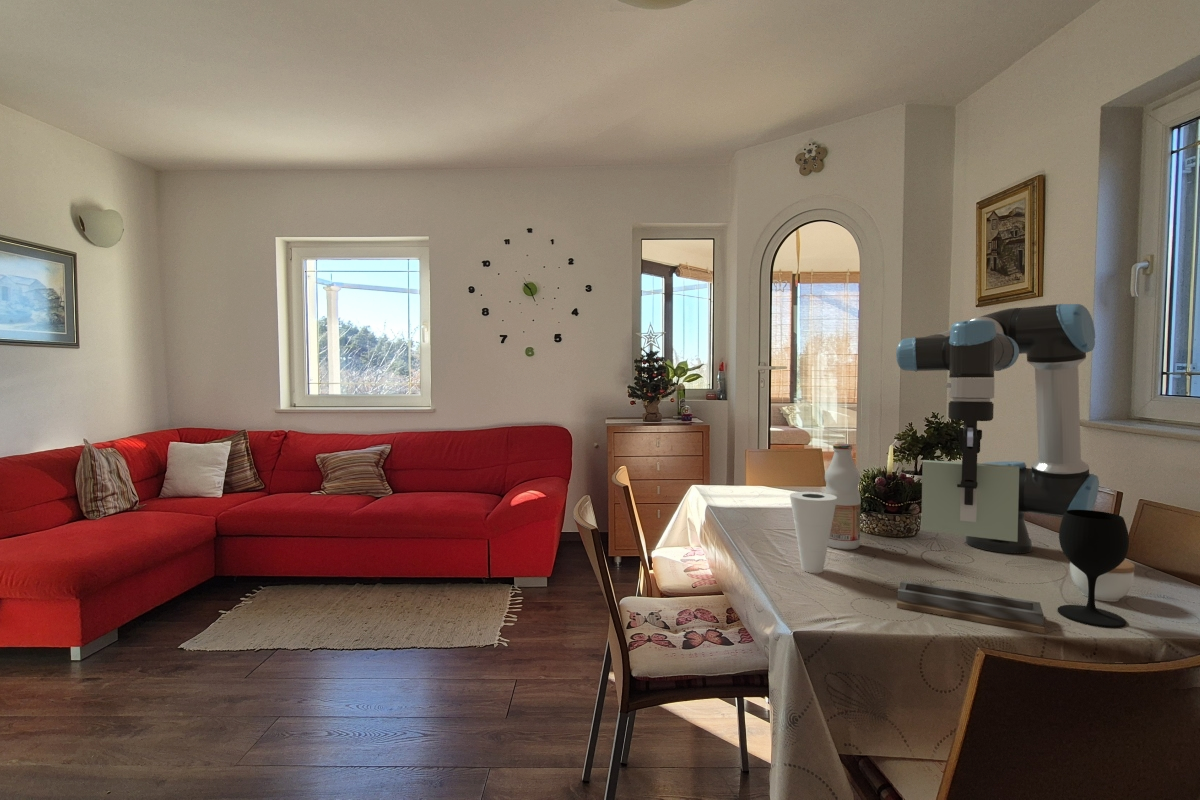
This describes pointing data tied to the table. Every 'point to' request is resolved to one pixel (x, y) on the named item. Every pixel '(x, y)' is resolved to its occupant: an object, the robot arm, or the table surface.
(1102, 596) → the lidded jar
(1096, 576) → the wine glass
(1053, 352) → the robot arm
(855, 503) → the fruit juice
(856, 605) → the table surface
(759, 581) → the table surface
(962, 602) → the door track
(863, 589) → the table surface
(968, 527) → the door panel
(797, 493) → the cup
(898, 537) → the table surface
